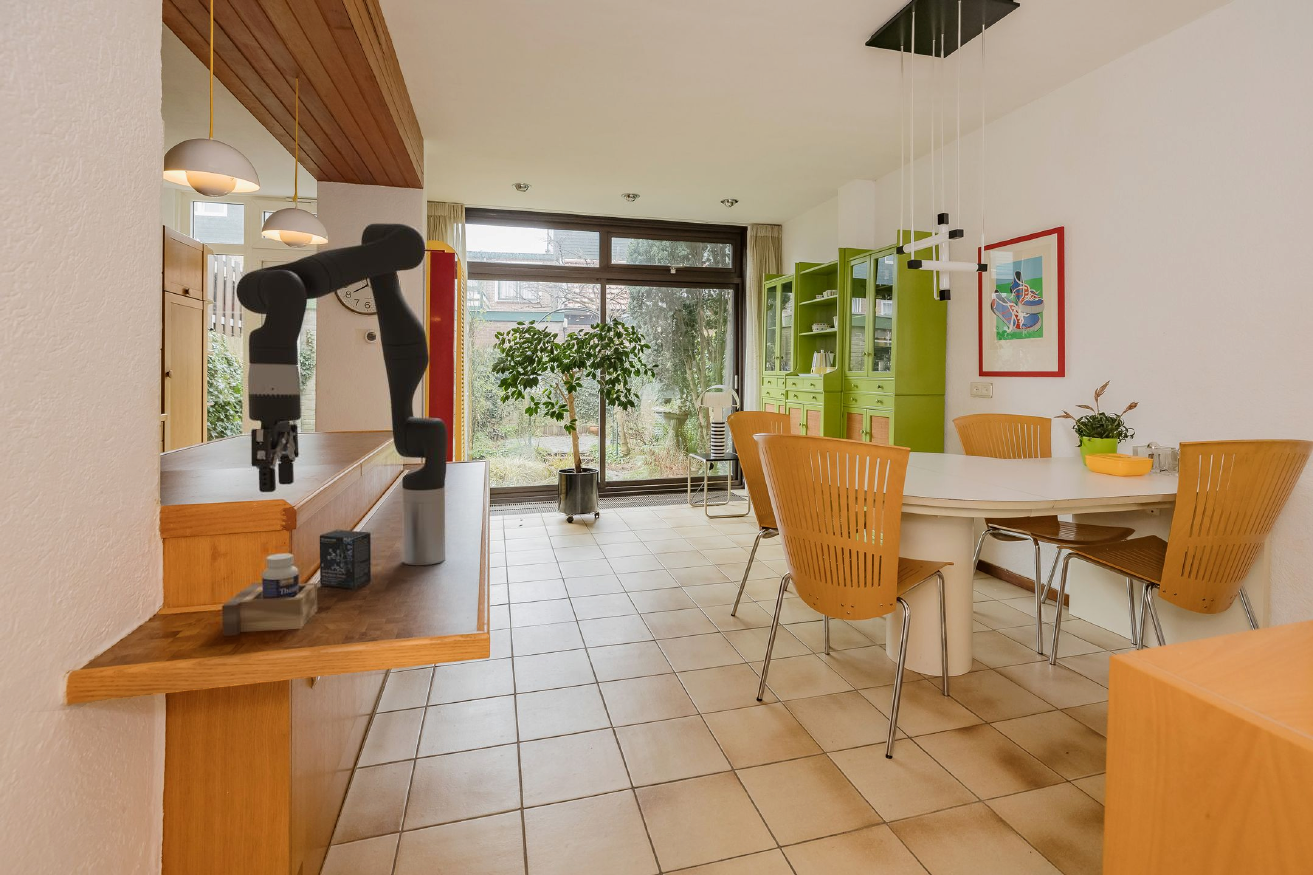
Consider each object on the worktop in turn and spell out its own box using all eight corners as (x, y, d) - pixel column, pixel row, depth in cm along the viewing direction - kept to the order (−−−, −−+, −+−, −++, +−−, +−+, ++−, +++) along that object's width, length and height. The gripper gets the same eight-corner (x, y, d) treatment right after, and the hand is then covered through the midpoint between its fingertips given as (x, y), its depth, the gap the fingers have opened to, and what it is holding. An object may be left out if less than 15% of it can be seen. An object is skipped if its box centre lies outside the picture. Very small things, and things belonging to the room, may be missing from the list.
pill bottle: (283, 618, 108) (281, 561, 107) (255, 615, 109) (253, 559, 108) (306, 607, 113) (305, 553, 112) (280, 605, 114) (278, 551, 113)
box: (319, 586, 130) (318, 534, 129) (339, 578, 135) (338, 528, 134) (353, 590, 128) (352, 537, 127) (372, 581, 134) (371, 531, 133)
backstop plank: (253, 610, 116) (252, 583, 115) (265, 609, 116) (264, 582, 116) (223, 635, 104) (222, 605, 103) (236, 635, 104) (235, 605, 104)
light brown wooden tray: (262, 612, 114) (261, 585, 114) (317, 610, 116) (316, 583, 116) (240, 631, 106) (239, 602, 105) (300, 628, 108) (300, 599, 107)
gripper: (284, 393, 102) (286, 494, 103) (312, 391, 116) (314, 481, 117) (231, 392, 100) (234, 495, 101) (266, 391, 114) (269, 481, 115)
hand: (277, 487), depth 109 cm, fingers open, 8 cm apart
